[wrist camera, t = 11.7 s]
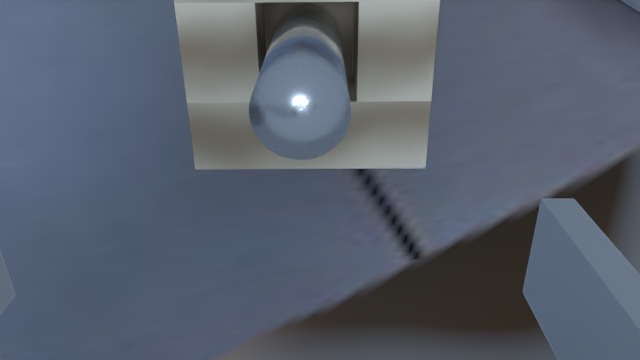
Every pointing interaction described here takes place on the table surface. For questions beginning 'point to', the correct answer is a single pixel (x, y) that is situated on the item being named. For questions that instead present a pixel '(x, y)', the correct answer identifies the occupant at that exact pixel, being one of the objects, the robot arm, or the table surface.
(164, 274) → the table surface
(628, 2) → the supplement box
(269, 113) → the peg
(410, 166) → the bore block
